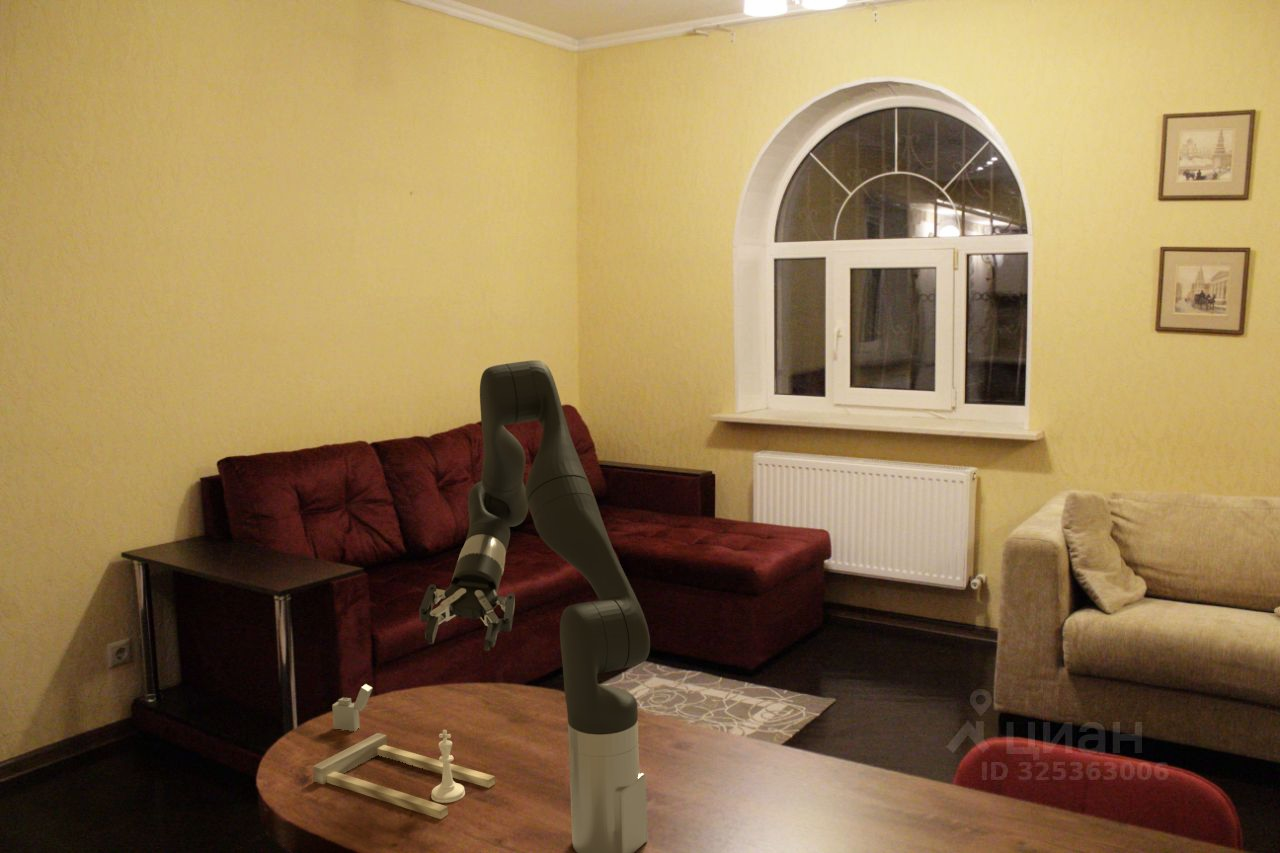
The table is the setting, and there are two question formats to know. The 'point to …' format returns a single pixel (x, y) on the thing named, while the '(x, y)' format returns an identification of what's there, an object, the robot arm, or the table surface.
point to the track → (363, 752)
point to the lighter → (350, 710)
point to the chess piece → (447, 775)
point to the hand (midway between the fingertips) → (458, 643)
